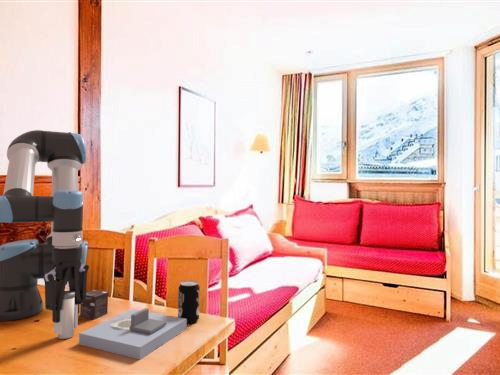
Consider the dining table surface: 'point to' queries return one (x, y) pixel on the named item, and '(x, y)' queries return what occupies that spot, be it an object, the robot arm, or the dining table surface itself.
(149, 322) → the grey l-shaped block
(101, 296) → the box
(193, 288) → the beverage can
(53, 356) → the dining table surface
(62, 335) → the plug
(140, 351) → the socket board
